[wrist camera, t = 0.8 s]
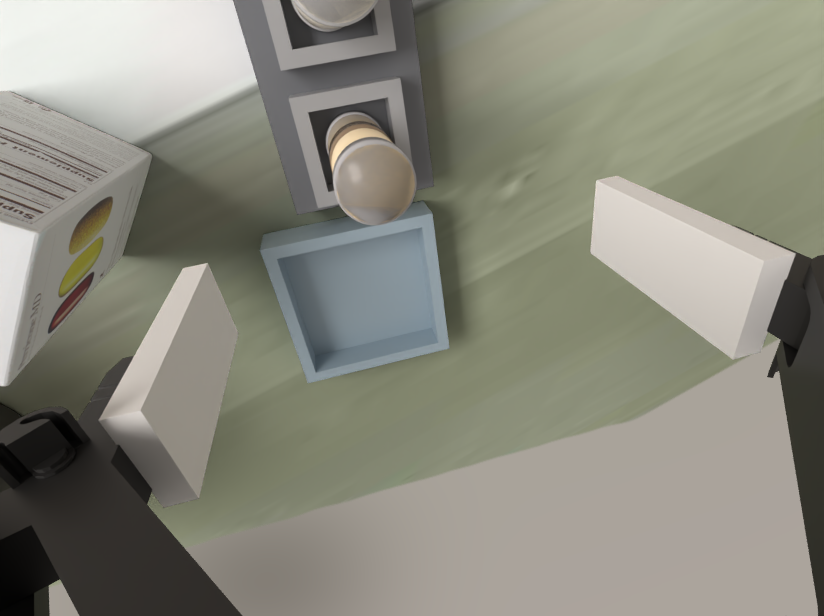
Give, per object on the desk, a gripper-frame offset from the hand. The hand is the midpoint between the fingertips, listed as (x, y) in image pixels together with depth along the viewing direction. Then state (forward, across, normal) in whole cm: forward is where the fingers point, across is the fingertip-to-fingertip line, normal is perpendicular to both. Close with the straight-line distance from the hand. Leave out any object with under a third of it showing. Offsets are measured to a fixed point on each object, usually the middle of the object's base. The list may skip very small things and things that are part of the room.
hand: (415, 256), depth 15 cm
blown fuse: (+21, 0, 0) cm, 21 cm away
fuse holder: (+24, 0, +4) cm, 24 cm away
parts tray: (+24, -2, -14) cm, 27 cm away
